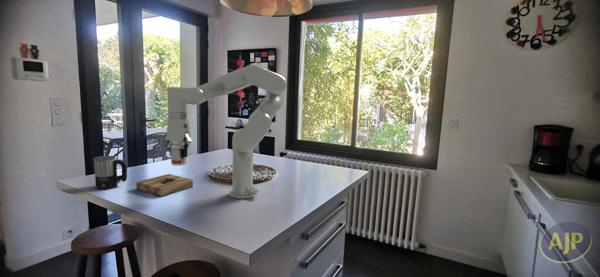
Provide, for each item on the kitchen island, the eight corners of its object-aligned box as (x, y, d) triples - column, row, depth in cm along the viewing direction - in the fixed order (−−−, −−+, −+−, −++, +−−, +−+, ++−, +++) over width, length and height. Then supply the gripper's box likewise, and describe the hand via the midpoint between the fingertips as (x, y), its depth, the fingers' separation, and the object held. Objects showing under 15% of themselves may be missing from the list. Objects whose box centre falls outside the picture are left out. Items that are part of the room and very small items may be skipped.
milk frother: (94, 191, 136) (92, 160, 134) (94, 182, 149) (92, 154, 147) (129, 186, 145) (128, 157, 143) (126, 178, 157) (125, 151, 155)
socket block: (192, 187, 148) (192, 179, 147) (161, 197, 132) (160, 188, 131) (169, 181, 156) (168, 173, 156) (136, 189, 140) (136, 181, 140)
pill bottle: (182, 162, 134) (181, 137, 133) (188, 164, 130) (188, 139, 129) (168, 164, 130) (167, 138, 128) (175, 166, 126) (174, 140, 124)
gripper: (198, 116, 126) (199, 157, 129) (171, 114, 134) (172, 152, 137) (184, 117, 120) (185, 160, 122) (156, 115, 128) (158, 155, 130)
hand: (178, 156), depth 130 cm, fingers closed on pill bottle, 6 cm apart
